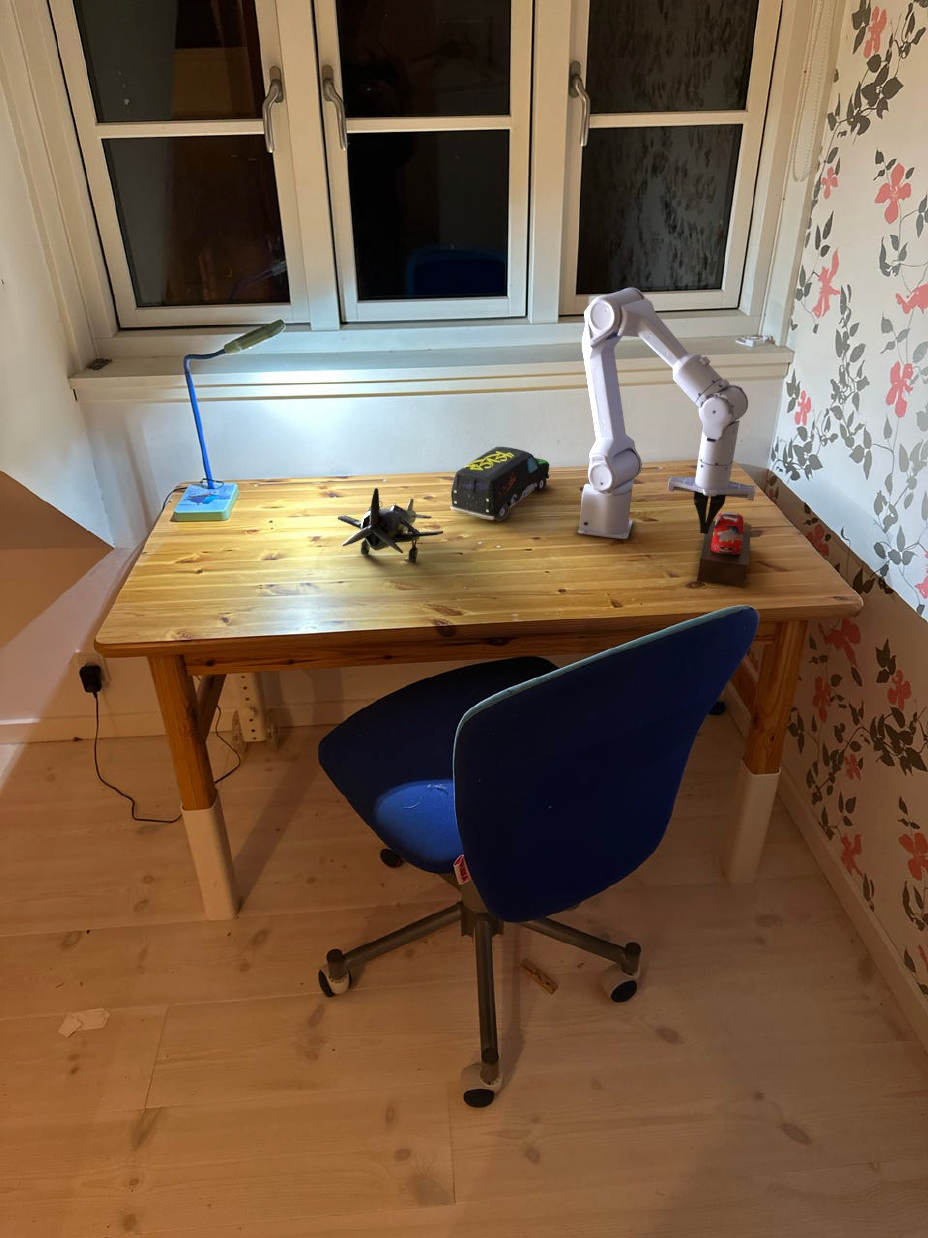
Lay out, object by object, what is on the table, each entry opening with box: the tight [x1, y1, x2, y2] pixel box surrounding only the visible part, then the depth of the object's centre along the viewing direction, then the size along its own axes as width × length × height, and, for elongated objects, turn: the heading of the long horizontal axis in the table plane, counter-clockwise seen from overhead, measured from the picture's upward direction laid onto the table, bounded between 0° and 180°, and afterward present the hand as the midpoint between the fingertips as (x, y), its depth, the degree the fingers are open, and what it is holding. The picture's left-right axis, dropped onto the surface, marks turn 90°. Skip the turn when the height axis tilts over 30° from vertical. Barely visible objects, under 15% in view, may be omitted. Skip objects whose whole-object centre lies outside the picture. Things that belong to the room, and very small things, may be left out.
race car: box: [711, 511, 745, 555], centre depth 148 cm, size 13×5×4 cm, turn 161°
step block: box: [696, 520, 752, 588], centre depth 151 cm, size 8×16×4 cm, turn 162°
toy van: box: [450, 446, 551, 522], centre depth 174 cm, size 11×25×10 cm, turn 148°
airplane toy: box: [337, 487, 444, 565], centre depth 153 cm, size 20×19×15 cm
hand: (704, 531), depth 150 cm, fingers closed
